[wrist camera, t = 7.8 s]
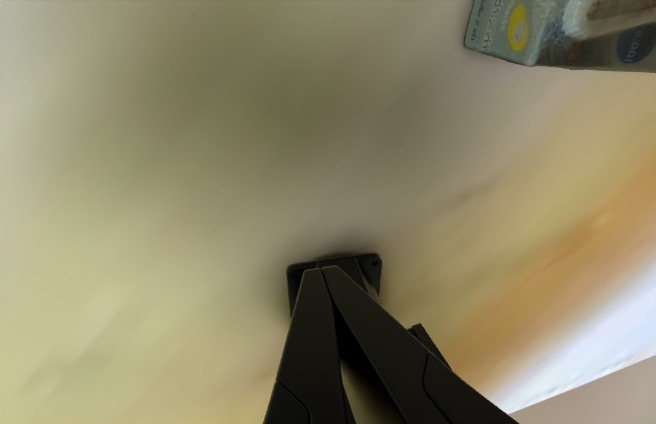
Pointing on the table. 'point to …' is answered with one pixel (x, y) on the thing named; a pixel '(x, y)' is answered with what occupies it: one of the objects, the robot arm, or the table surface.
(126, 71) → the table surface
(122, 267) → the table surface
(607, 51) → the printed cardboard box
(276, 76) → the table surface
